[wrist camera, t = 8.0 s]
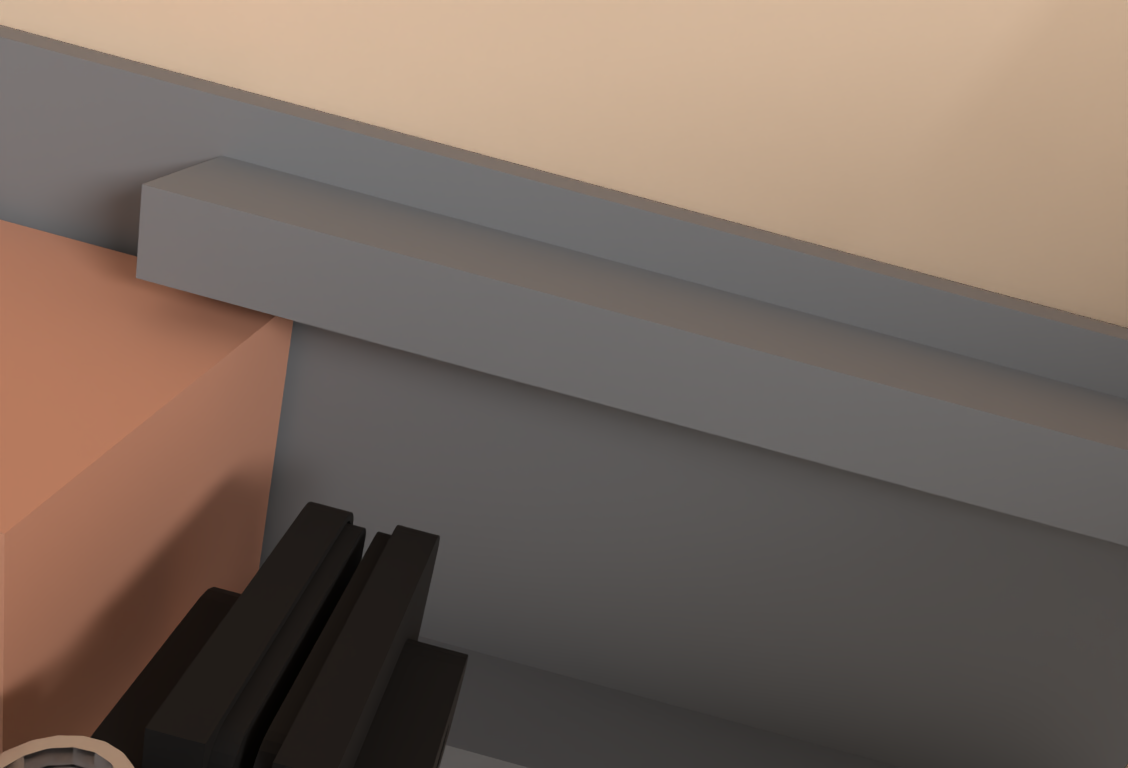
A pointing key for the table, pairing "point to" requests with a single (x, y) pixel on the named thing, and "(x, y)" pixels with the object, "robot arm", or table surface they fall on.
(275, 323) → the block
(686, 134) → the table surface
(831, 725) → the chute
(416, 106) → the table surface
